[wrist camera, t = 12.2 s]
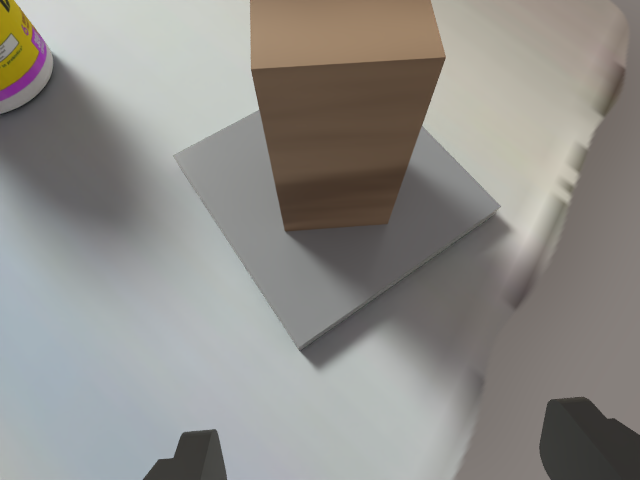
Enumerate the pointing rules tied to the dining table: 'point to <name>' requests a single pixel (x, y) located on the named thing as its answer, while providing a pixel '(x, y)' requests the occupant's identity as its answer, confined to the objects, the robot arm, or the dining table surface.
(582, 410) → the robot arm
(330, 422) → the dining table surface
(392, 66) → the walnut block
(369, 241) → the slate tile
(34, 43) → the supplement bottle
